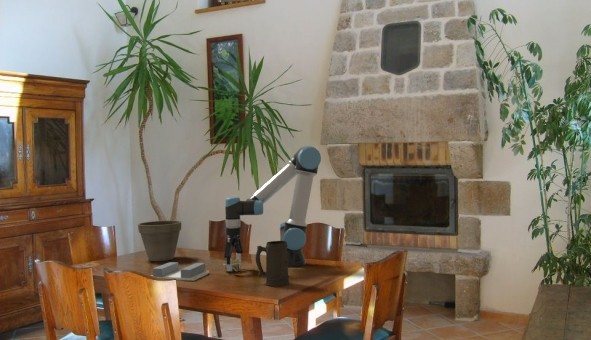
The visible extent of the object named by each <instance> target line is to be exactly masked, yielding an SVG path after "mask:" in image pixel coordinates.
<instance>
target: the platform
mask: <svg viewBox="0 0 591 340" xmlns="http://www.w3.org/2000/svg"><path fill="white" fill-rule="evenodd" d="M239 264H241V265H242V261H241V262H240V261H239V259H236V258H235V259H232V271H226V270H225V273H232V272H239V271H240V266H239ZM222 265H224V266H226V262H225V263H223V264H222Z"/></svg>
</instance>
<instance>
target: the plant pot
mask: <svg viewBox="0 0 591 340" xmlns="http://www.w3.org/2000/svg"><path fill="white" fill-rule="evenodd" d="M137 230H138V233H140V237H141V240H142V244H143V247H144V250H145V254H146V256H147V259H148V261H150V262H165V261H170V260H174V259H175V255H176V251H177V245H178V242H179V236H180V232H181V231H182V221H180V220H169V219H167V220H154V221H153V220H151V221H143V222H139V223H137Z"/></svg>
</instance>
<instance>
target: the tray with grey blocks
mask: <svg viewBox="0 0 591 340" xmlns="http://www.w3.org/2000/svg"><path fill="white" fill-rule="evenodd" d="M209 274H210V271H209V270H206V263H205V262H204V263H203V262H195V263H192V264H190V265H188V266H185V267H183V268H180V270H179V261H178V262H174V261H172V262H171V261H170V262H167V263H164V264H161V265H159V266H156V267H152V275H151V276H153V277H157V278H165V279H176V280H175V281H190V282H191V281H193V282H195V281H196V280H198V279H200V278H203V277H205V276H207V275H209Z"/></svg>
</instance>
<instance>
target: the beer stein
mask: <svg viewBox="0 0 591 340" xmlns="http://www.w3.org/2000/svg"><path fill="white" fill-rule="evenodd" d="M287 246H288V245H287V242H286V241H280V240H272V241H267V242H266V245H265V247H264V246H262V245H257V246H256V247H257V249H256V252H255V264H256V266H257V268H258V271H259V272H258V278H262V277H265V279H266V282H265V283H266V285H267V286H269V285H270V287H284V285H285V286H288V285H289V284H290V276H289V267H288V260H287ZM262 252H265V254H266V256H265V257H266V258H265V260H266V261H265V271H264V269H263V266H262V263H261V254H262Z"/></svg>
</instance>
